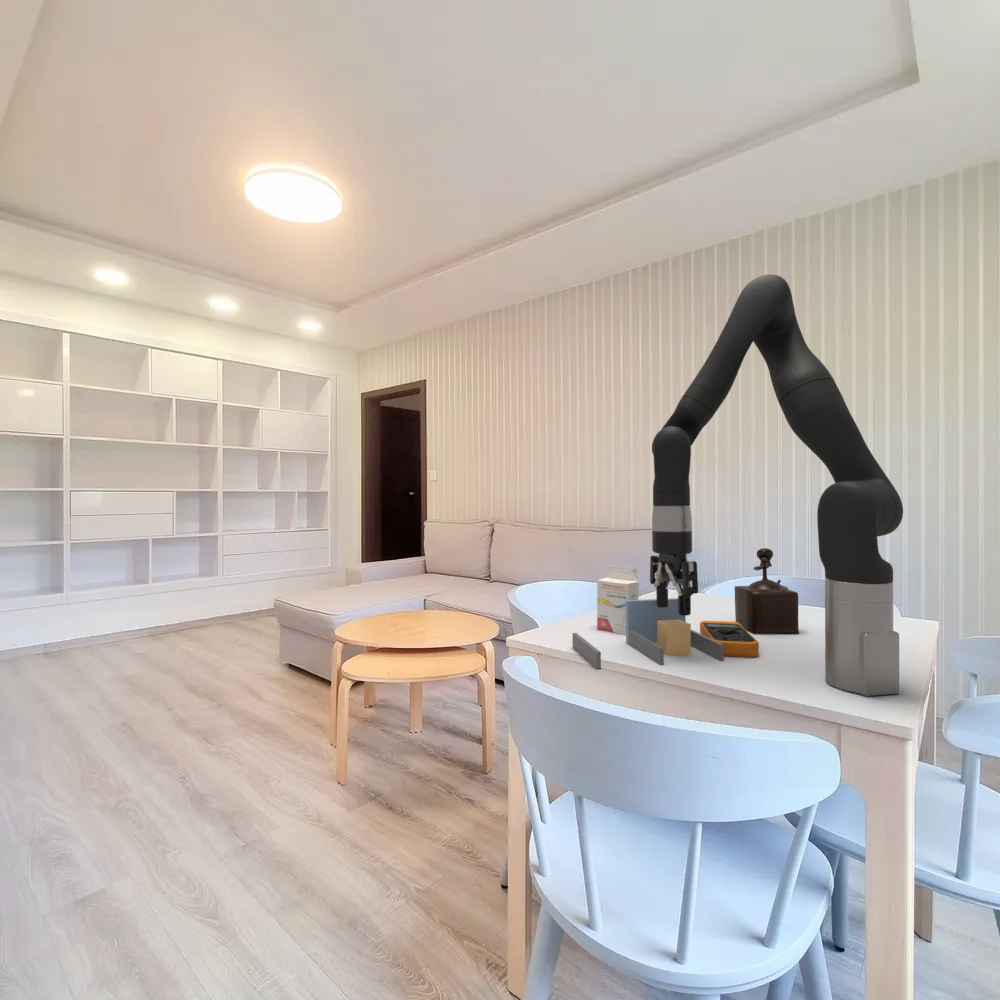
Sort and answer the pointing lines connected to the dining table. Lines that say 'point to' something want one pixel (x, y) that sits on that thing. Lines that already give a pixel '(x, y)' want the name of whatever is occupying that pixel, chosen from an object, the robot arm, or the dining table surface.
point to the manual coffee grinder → (766, 603)
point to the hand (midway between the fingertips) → (672, 610)
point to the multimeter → (731, 638)
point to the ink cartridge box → (616, 598)
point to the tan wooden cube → (674, 637)
